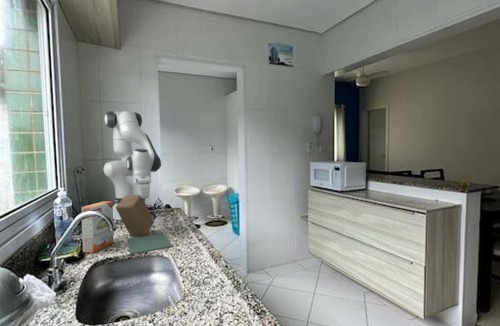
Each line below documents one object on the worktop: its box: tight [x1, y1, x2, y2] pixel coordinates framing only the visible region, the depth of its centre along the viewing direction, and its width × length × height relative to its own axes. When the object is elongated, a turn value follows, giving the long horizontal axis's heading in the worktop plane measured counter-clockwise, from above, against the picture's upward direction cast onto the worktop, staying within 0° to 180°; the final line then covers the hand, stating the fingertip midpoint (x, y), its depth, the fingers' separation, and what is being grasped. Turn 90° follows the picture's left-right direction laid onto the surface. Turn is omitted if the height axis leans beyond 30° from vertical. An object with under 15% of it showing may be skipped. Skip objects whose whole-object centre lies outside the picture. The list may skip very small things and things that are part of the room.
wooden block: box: [116, 194, 154, 237], centre depth 139 cm, size 10×10×20 cm
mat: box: [126, 232, 173, 255], centre depth 130 cm, size 22×18×1 cm
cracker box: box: [81, 200, 115, 254], centre depth 124 cm, size 14×6×21 cm, turn 171°
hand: (143, 204), depth 143 cm, fingers closed
